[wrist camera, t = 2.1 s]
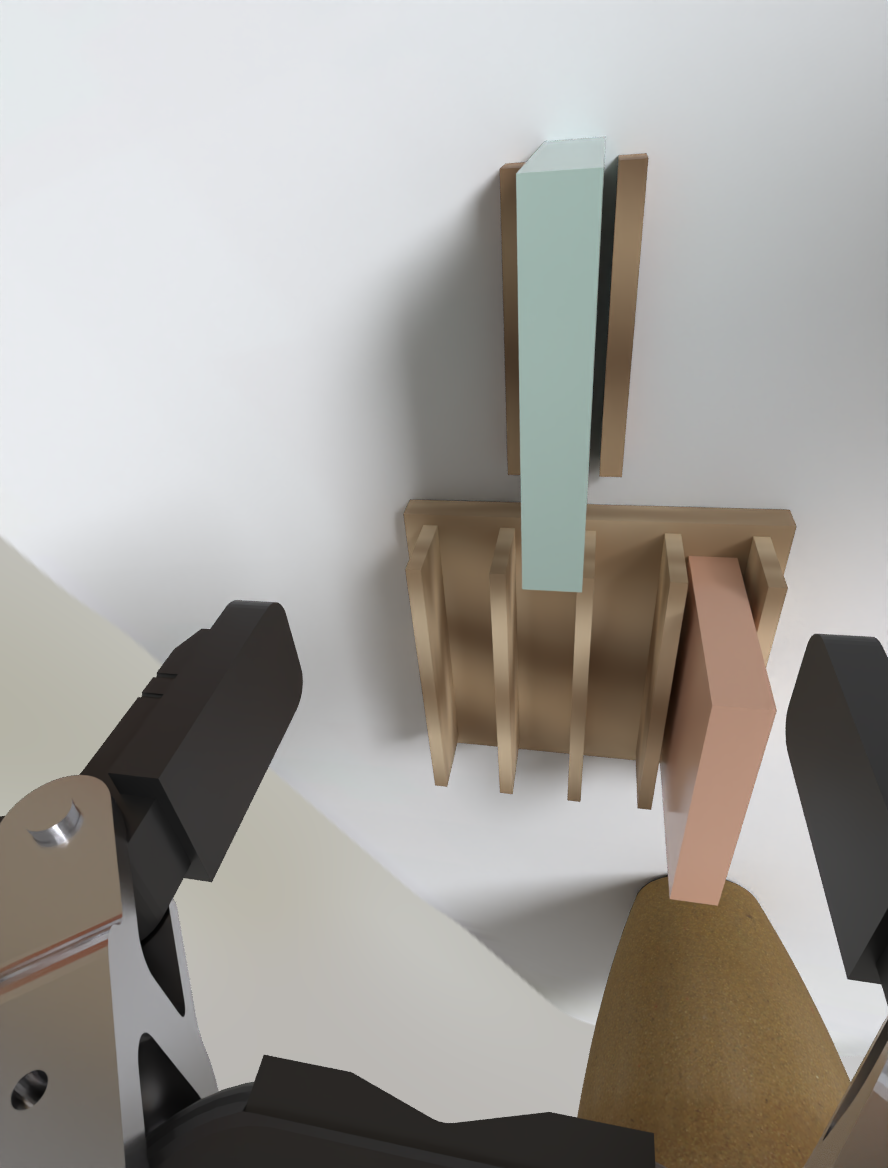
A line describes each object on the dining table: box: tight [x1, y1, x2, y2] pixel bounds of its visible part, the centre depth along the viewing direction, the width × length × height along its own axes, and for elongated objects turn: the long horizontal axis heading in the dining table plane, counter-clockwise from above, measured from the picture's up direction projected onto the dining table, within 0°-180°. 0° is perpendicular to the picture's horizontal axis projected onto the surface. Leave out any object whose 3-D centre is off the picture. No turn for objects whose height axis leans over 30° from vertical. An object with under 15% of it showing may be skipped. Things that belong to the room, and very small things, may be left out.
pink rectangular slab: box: [660, 556, 777, 906], centre depth 27 cm, size 11×2×8 cm, turn 4°
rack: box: [404, 500, 796, 810], centre depth 30 cm, size 14×15×4 cm
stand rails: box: [500, 153, 648, 477], centre depth 23 cm, size 10×4×1 cm, turn 4°
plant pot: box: [577, 877, 851, 1168], centre depth 37 cm, size 15×15×16 cm
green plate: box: [516, 137, 606, 592], centre depth 21 cm, size 11×2×8 cm, turn 4°
